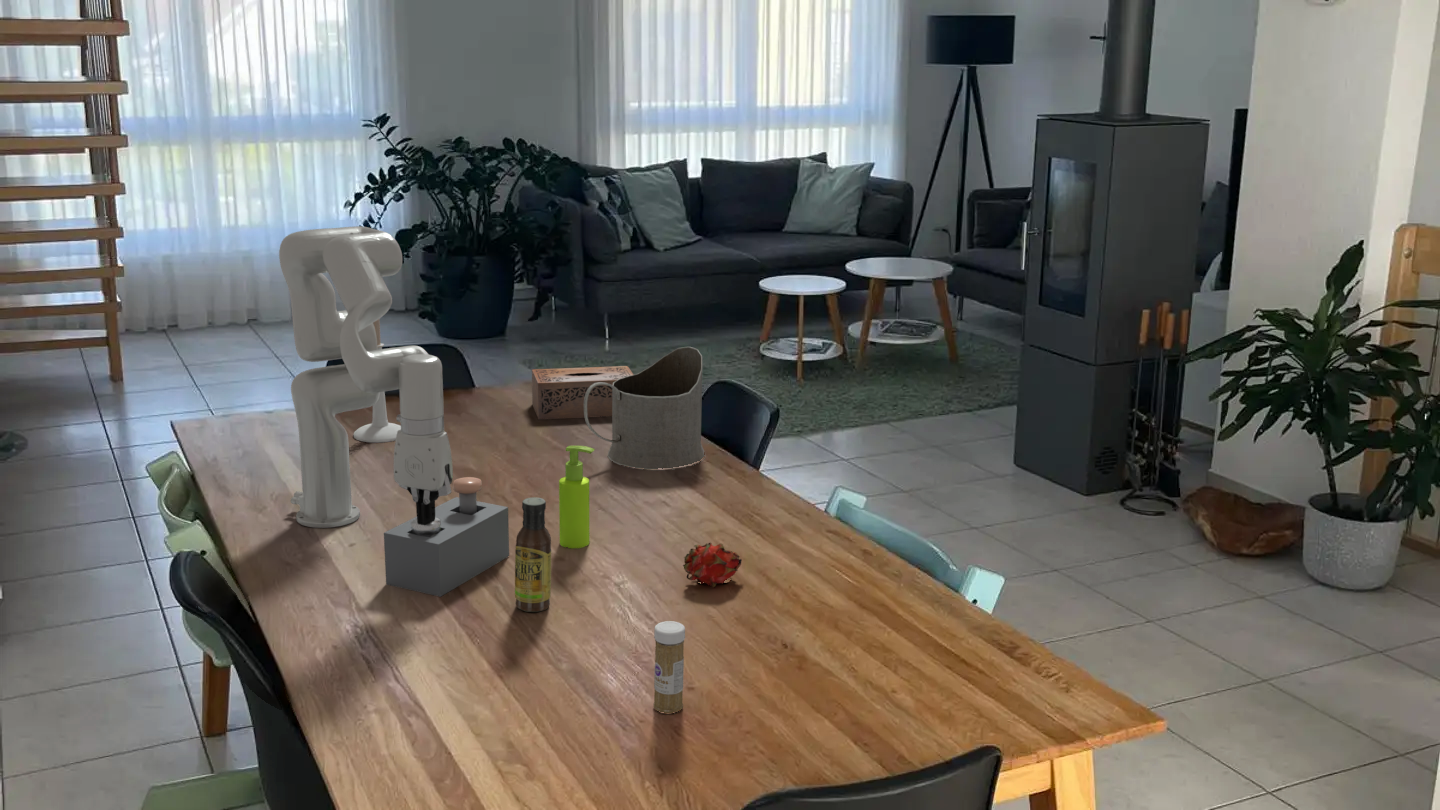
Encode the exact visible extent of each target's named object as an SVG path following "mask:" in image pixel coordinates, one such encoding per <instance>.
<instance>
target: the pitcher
mask: <svg viewBox="0 0 1440 810" xmlns="http://www.w3.org/2000/svg"><path fill="white" fill-rule="evenodd" d="M597 385H608V386H610V387H612V416H611V417H612V419H611V420H612V421H611V423H612V424H611V429H612V430H611V433H612V435H611V438H612V439H608V438H605V437H603V436H602V435H600V434H599V433H598V432H597V431H595V429H594V428H593V427H592V425H591V424H590V421H589V417H588V414H587V400H588V396H589V393H590V391H591V390H592V389H593V388H594V387H595V386H597ZM702 394H703V355H702V354H701V352H700V351H699V349H698V348H695V347H691V346H684V347H678V348H676V349H675V350H672V351H670V352H669V353H668V354H665V355H664V356H663V357H661V358H660V359H659V360H657V361H656V362H654V363H653V364H652V365H650V366H648V367H647V368H645V369H644V370H641V371H640V372H638V373H635V374H634V375H631V376H627V377H624V378H621V379H618V380H616V381H615V382H613V385H611V384H608V383H604V382H598V383H594V384H592V385H591V386H590V387H589V388H588V390H587V392H586V394H585V397H584V420H585V421H584V422H585V424H586V425H587V427H588V429H589V430H590V431H591V432H592V433H593V435H595V436H596V437H597V438H600V439H602V440H604V441H606V442H609V443H611V445H610V447H609V450H608V453H607V457H608V459H609V461H611V462H612V461H613V463H615V464H617V465H619V466H621V465H624V466H623V467H625V466H629V467H635V468H644V469H658V468H662V469H663V468H673V467H679V466H684V465H688V464H692V463H694V462H697V461H700V460H701V459H702V458H703V457H704V456H705V457H706V454H705V455H704V452H705V450H704V447H703V444H702V439H701V438H702V398H703V397H702V396H703V395H702ZM629 467H628V468H629Z"/></svg>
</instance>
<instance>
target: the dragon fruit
mask: <svg viewBox="0 0 1440 810" xmlns="http://www.w3.org/2000/svg"><path fill="white" fill-rule="evenodd" d="M694 547H695V548H690V550H689V551H688V552H689V553H686V554H685V556H684V557H683V558H684V560H683V561H684V564H683V565H682V566H683V570H684V572H686V573H687V574H686V579H687V580H689V581H696V580H697V581H696V582H697V583H698V582H701V584H702V585H704V584H706V585H708V586H709V585H710V586H709V587H712V588H715V587H716V585H717V584H723V583H724V581H725V580H727V579H731V577H733V576H734V575H735V574H736V573H737V572H738V569H739V568H740V567H741V565H742V558H740V556H739V554H738V553H737V552H734V551H733V550H726V548H725V546H724V544H723V543H718V544H717V545H713V543H712V542H708V543H705V544H704V545H701V544H695V545H694ZM689 575H691V576H689ZM703 582H705V583H703Z"/></svg>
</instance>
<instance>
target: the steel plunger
mask: <svg viewBox="0 0 1440 810" xmlns="http://www.w3.org/2000/svg"><path fill="white" fill-rule="evenodd" d="M411 529H412V532H413V533H415V534H417V535H420V536H425V537H431V536H433V535H435V533H437V532H439V531H440V530H441V521H440V519H438V518H435V520H434V521H432V522H430V523H428V524H426V525H423V524H422V523H421V524H418V523H417V518H416V519H414V520H412V522H411Z"/></svg>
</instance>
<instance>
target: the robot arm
mask: <svg viewBox="0 0 1440 810" xmlns="http://www.w3.org/2000/svg"><path fill="white" fill-rule="evenodd" d="M278 254H279V255H278V256H279V257H278V258H279V264H280V269H281V272H282V275H283V277H284V280H285V282H286V285H287V288H288V292H289V295H290V305H291V316H292V327H293V337H294V344H295V345H294V346H295V350H296V352H297V355H298V357H299V358H300V359H301V360H303V361H305V362H309V363H310V362H311V363H316V362H317V363H318V362H325V361H333V360H341V359H342V361H343V363H344V364H337V365H328V366H323V367H315V368H311V369H307V370H304V371H302V372H299V373H297V375H296V376H295V377H294V378H293V379H292V381H291V385H290V393H291V398H292V399H291V400H292V402H293V403H292V404H293V407H294V411H295V415H296V422H297V429H298V440H299V441H298V442H299V453H300V454H299V455H300V457H299V458H300V470H301V471H300V472H301V485H302V491H298V490H297V491H295V492H294V494H293V496H292V497H291V498H290V503H291V504H293V505H298V506H299V510H298V511H297V513H296V514H295V515H296V516H295V519H296V522H297V523H298V524H300V525H302V526H305V527H308V528H314V529H317V528H318V529H327V528H337V527H338V528H339V527H341V526H346V525H349V524H352V523H354V522H355V521H357V520H358V519H360V517H361V510H360V508H359V507H358V506H356V505H354V504H352V487H351V484H352V483H351V468H350V467H351V465H350V463H351V462H350V446H349V445H350V444H349V435H348V432H347V430H346V428H345V426H344V425H342V423H341V422H340V421H339V420H338V419H337V418H336V415H337V414H342V413H343V412H351V411H357V410H361V409H367V408H370V407H373V405H374V404H375V403H376V402H377V401H378V399H379V395H380V392H388V391H390V392H391V391H397V390H398V391H399V412H400V414H399V413H398V414H397V415H396V421H397V422H399V423H400V426H401V430H398V431H397V436H396V441H394V450H393V479H394V482H395V483H397V484H398V486H399V487H400V488H402V489H404V490H406V491H408V493H409V494H410V496H411V497H412V501H413V502H414V503H415V508H416V509H415V510H416V517H417V523H418V524H421V523H422V524H423V525H426V524H428V523H430V522H432V521H434V520H435V507H436V501H437V500H438V499H439V498H440V497H446V496H449V495H451V494H452V487H451V484H453V477H454V476H453V460H452V459H453V458H452V449H451V444H450V441H449V440H450V439H449V435H448V432H446V431H445V417H444V416H445V414H444V410H445V409H444V390H443V389H444V384H443V364H442V360H440V358H439V357H438V356H435V355H432V354H429V353H428V352H427V351H426V350H425V349H424V348H423V347H421V346H418V345H413V344H412V345H405V346H397V347H389V348H388V347H387V348H382V349H380V350H378V348H377V338H376V331H375V327H374V324H373V322H375V321H377V320H378V319H381V318H383V316H385V315H386V314H387V313H388V312H389V310H391V306H392V304H393V296H392V294H391V292H390V290H389V288H388V287H387V284H386V282H385V280H384V277H391V276H394V275H396V274H398V273H399V272H400V270H401V269H402V265H403V253H402V250H401V247H400V244H399V243H398V241H397V240H396V239H395V238H394V236H392V235H391V233H389V232H386V231H383V230H379V229H375V228H371V227H367V226H360V225H358V226H343V227H330V228H328V227H327V228H314V229H304V230H300V231H295V232H292V233H289V234H287V236H285V237H284V238H283V239H282V241H281V243H280V246H279V250H278ZM326 273H328V275H329V277H330V279H331V281H332V282H330V280H329V279H328V278H327V277H326V275H325V274H326ZM332 283H333V284H332ZM333 285H334V286H333ZM334 288H335V289H336V292H335V289H334ZM336 293H337V294H338V295H339V296H338V297H339V298H340V300H341V303H342V304H343V306H344V310H337V301H336V300H337V298H336Z"/></svg>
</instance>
